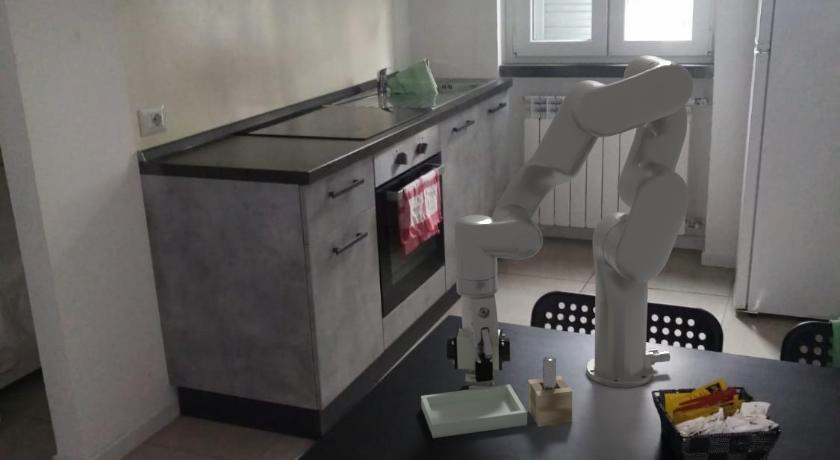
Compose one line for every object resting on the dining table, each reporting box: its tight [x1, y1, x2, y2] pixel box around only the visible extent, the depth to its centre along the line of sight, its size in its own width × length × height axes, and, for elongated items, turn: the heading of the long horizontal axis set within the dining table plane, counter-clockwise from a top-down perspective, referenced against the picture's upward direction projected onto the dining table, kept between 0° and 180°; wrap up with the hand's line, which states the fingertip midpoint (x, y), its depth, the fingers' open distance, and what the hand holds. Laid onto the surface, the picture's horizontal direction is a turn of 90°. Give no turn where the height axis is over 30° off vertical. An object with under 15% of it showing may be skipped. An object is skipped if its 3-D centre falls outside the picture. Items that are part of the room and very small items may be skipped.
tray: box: [420, 383, 528, 439], centre depth 153 cm, size 17×11×2 cm, turn 100°
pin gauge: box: [542, 356, 557, 391], centre depth 150 cm, size 2×2×11 cm
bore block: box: [527, 375, 573, 428], centre depth 151 cm, size 6×6×6 cm
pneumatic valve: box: [446, 328, 512, 390], centre depth 162 cm, size 6×12×12 cm, turn 81°
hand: (479, 371), depth 163 cm, fingers open, 6 cm apart
